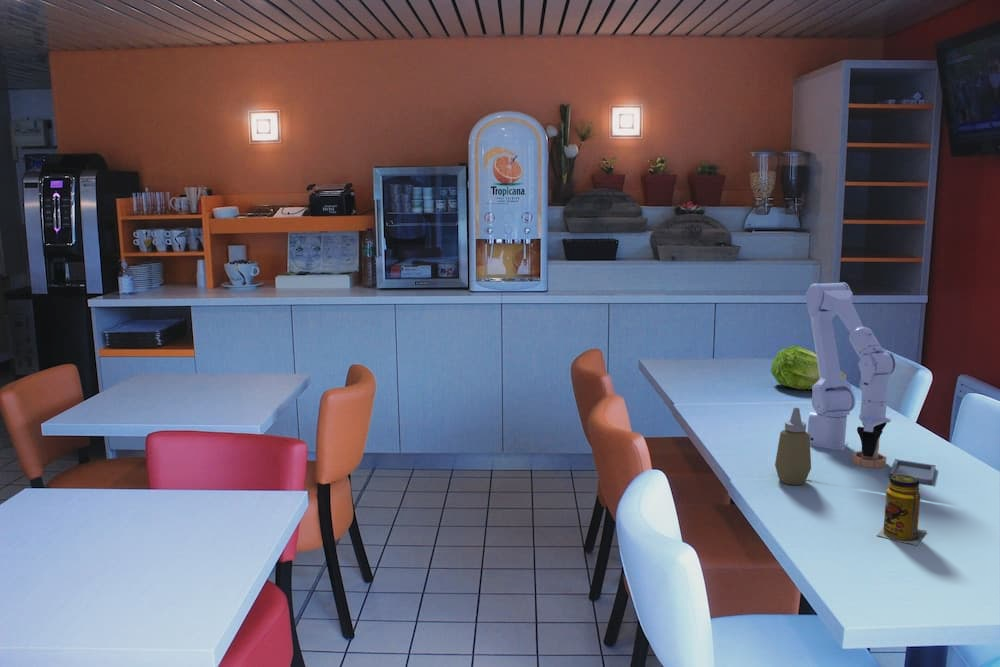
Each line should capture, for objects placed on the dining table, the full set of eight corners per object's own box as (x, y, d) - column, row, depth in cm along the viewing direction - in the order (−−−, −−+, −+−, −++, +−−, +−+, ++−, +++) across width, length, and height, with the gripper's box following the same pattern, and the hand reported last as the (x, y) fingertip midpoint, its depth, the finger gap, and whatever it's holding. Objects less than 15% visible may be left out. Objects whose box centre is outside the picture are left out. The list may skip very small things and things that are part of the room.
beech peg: (860, 463, 199) (862, 432, 198) (862, 459, 202) (864, 429, 201) (875, 465, 197) (878, 434, 196) (877, 461, 200) (880, 431, 199)
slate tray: (888, 479, 189) (889, 473, 189) (894, 464, 199) (894, 459, 199) (931, 486, 185) (932, 480, 184) (935, 471, 195) (935, 465, 194)
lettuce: (828, 395, 286) (838, 412, 271) (763, 371, 287) (770, 387, 272) (847, 359, 281) (858, 375, 266) (781, 335, 282) (789, 349, 267)
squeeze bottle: (793, 489, 183) (797, 414, 180) (766, 478, 190) (770, 406, 187) (817, 483, 187) (822, 409, 184) (790, 473, 194) (795, 401, 191)
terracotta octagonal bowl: (850, 466, 199) (851, 457, 198) (855, 457, 205) (855, 449, 204) (883, 471, 195) (884, 462, 194) (887, 462, 201) (887, 454, 201)
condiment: (876, 536, 159) (881, 479, 156) (888, 522, 165) (892, 467, 163) (916, 546, 154) (921, 487, 152) (926, 532, 160) (932, 475, 158)
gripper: (888, 408, 189) (883, 463, 191) (895, 395, 201) (890, 446, 203) (856, 404, 192) (852, 458, 195) (864, 391, 204) (860, 442, 207)
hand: (869, 452), depth 199 cm, fingers open, 6 cm apart
